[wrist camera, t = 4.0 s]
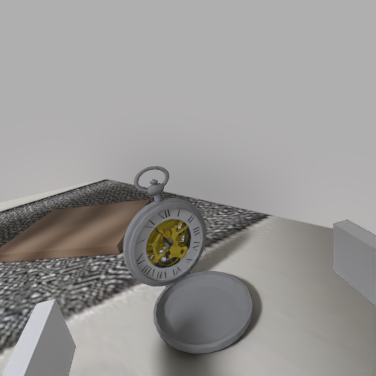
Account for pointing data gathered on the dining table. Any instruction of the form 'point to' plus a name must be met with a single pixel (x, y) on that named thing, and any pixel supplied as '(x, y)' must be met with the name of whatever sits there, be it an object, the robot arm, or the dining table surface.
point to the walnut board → (74, 232)
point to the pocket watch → (184, 276)
